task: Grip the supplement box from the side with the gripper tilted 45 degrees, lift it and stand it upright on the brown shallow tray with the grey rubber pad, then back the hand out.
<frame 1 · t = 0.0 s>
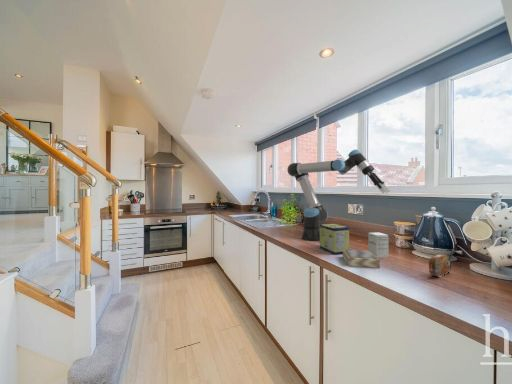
hand: (386, 192, 137), 36 cm above the counter, tool tilted 35°, fingers open, 13 cm apart
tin: (439, 274, 90), on the counter
supplement box: (378, 256, 116), on the counter
brown shallow tray: (359, 261, 107), on the counter
protein box: (333, 250, 127), on the counter
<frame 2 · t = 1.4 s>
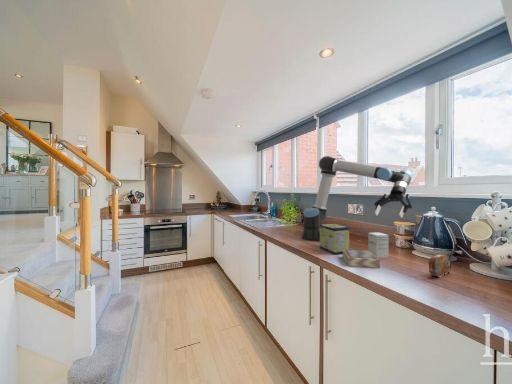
hand: (387, 215, 122), 22 cm above the counter, tool tilted 45°, fingers open, 13 cm apart
nothing on the counter moved.
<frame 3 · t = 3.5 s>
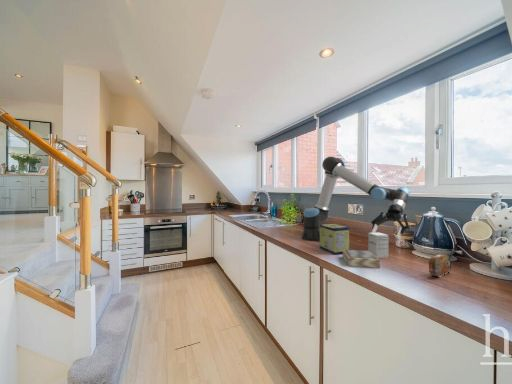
hand: (384, 235, 118), 11 cm above the counter, tool tilted 45°, fingers open, 13 cm apart
nothing on the counter moved.
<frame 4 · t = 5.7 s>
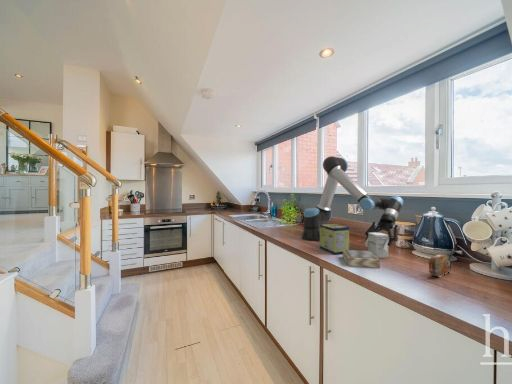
hand: (375, 247, 115), 5 cm above the counter, tool tilted 45°, fingers closed on supplement box, 9 cm apart
supplement box: (378, 256, 116), on the counter, touching gripper
everything else where it was.
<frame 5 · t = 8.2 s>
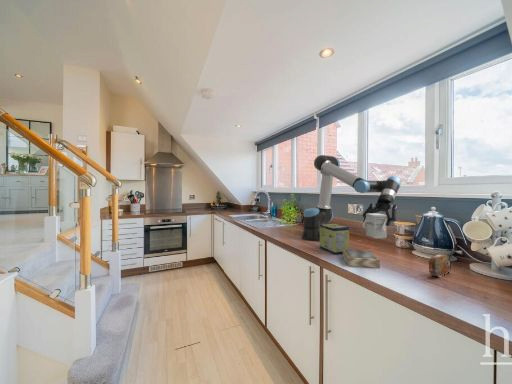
hand: (373, 228, 111), 16 cm above the counter, tool tilted 45°, fingers closed on supplement box, 9 cm apart
supplement box: (376, 237, 113), point 11 cm above the counter, touching gripper
everything else where it was.
when the fingers open (11 cm above the counter, at t = 10.9 s): supplement box drops 2 cm, resting on brown shallow tray.
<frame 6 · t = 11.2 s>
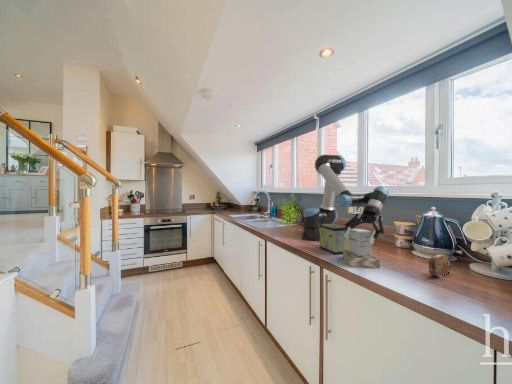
hand: (357, 240, 105), 12 cm above the counter, tool tilted 45°, fingers open, 13 cm apart
supplement box: (360, 254, 106), point 4 cm above the counter, touching brown shallow tray
everything else where it was.
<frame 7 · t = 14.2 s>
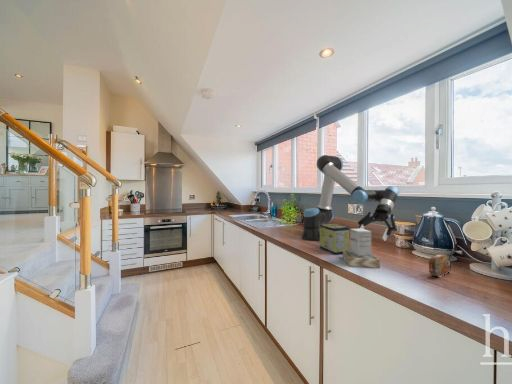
hand: (370, 237, 112), 12 cm above the counter, tool tilted 45°, fingers open, 13 cm apart
nothing on the counter moved.
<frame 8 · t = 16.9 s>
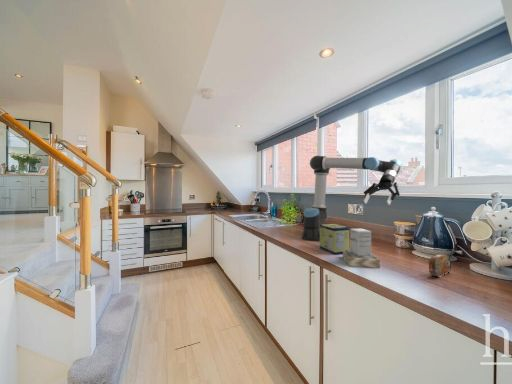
hand: (375, 202, 123), 30 cm above the counter, tool tilted 45°, fingers open, 13 cm apart
nothing on the counter moved.
at the end: supplement box inside the target area on the brown shallow tray (0.2 cm from its centre), point 4.1 cm above the brown shallow tray's base; supplement box tilted 0°; the gripper is holding nothing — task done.
